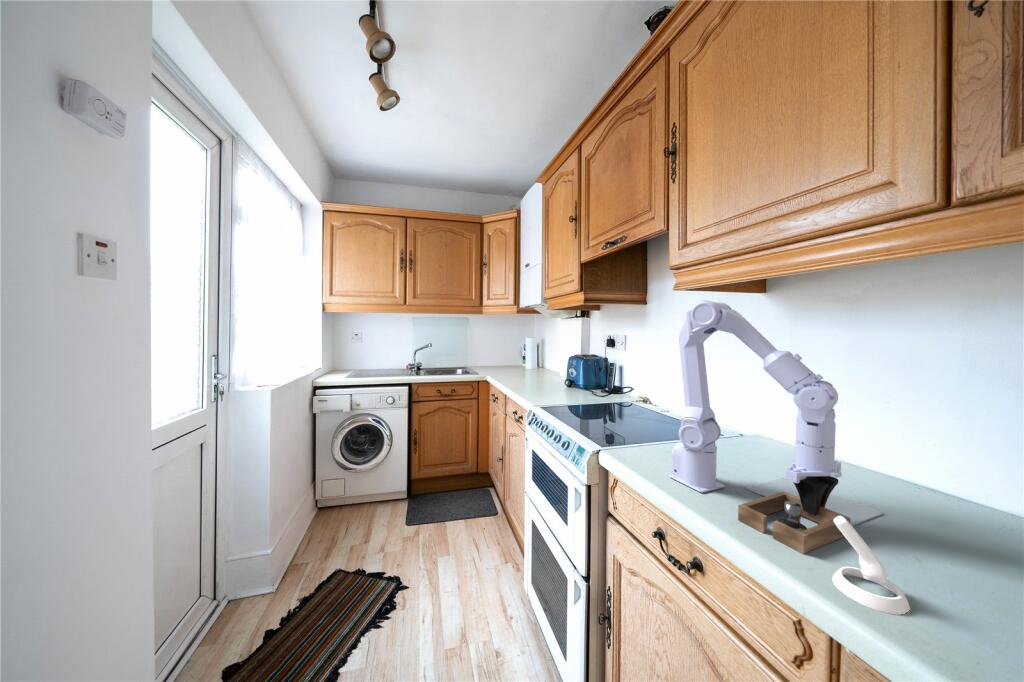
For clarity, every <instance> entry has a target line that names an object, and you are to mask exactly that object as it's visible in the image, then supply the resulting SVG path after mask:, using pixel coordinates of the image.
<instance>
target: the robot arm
mask: <svg viewBox="0 0 1024 682" xmlns="http://www.w3.org/2000/svg"><path fill="white" fill-rule="evenodd" d="M685 316H686V318H685V320H684V322H683V325H682V327H681V328H680V329H681V330H680V332H679V334H678V343H679V355H680V363H681V364H680V365H681V374H682V384H683V395H684V405H685V408H684V410H683V413H682V415H681V418H680V420H681V423H680V428H679V429H678V438H679V441H678V442H676V443H675V444H674V446H673V448H672V451H671V474H669V475H668V476H669V478H671V479H672V480H675V481H677V482H678V483H681V484H683V485H685V486H687V487H688V488H691V489H692V490H695V491H697V492H699V493H706V492H711V491H715V490H719V489H723V488H725V487H726V486H725V484H723V483H721V482H719V481H717V460H718V459H717V454H718V452H717V449H718V448H717V445H716V442H717V441H718V440H719V439H720V437H721V435H722V433H721V432H722V431H721V426H720V425H719V423H718V422H717V420H716V414H715V411H714V410H713V409H712V408H711V404H710V403H711V401H710V394H709V386H708V385H709V383H708V375H707V365H706V356H705V345H704V343H705V342H706V341H707V340H708V339H709V338H710V337H711V336H712V335H713V334H714V333H715V332H718V331H721V332H725V333H727V334H728V333H729V334H733V335H734V336H735V338H737V339H738V340H739V341H741V342H742V343H743V344H745V346H747V347H748V348H749V349H750V350H751V351H752V352H754V353H755V354H756V355H757V356H758V357H759V358H760V359H762V361H763V366H762V367H763V371H765V372H766V373H767V374H768V375H769V376H770V377H771V378H773V380H775V381H776V382H777V383H778V384H779V386H781V387H782V388H783V389H784V391H786V392H787V393H788V394H792V395H793V397H792V398H793V402H794V404H795V406H796V407H797V417H796V419H795V420H796V422H795V423H796V425H795V455H794V456H795V457H794V458H795V460H794V461H793V462H792V464H791V465H790V466H789V467H788V468H785V473H784V478H785V479H786V480H789V481H792V482H793V483H794V485H795V487H796V489H797V491H798V494H799V497H800V500H801V504H802V508H803V511H805V512H808V513H810V514H812V515H815V516H816V515H817V514H818V512H819V509H820V506H822V507H824V508H825V505H826V502H827V499H828V497H829V495H830V493H831V494H832V492H833V490H834V489H835V488H836V486H837V485H838V484H839V479H838V478H841V477H843V474H842V462H841V461H838V460H835V455H836V454H835V453H836V449H835V447H836V431H837V430H836V427H837V425H836V421H835V418H836V412H835V406H836V404H838V401H839V394H838V391H837V389H836V388H835V387H834V385H833V384H832V383H831V382H829V381H826V380H822V379H824V376H822V375H821V374H820V373H818V374H815V373H814V371H812V370H811V368H809V367H808V366H806V365H805V364H804V362H803V361H801V360H802V359H803V357H802V356H801V355H799V353H794V354H793V353H792V352H791V351H789V350H779V349H777V348H776V347H775V346H774V345H773V344H772V342H770V341H769V340H768V339H767V338H766V337H765V336H764V335H763V334H762V333H761V332H759V331H758V329H757V328H755V327H754V326H753V325H752V323H750V322H749V321H748V319H746V318H745V317H744V316H743V315H742V314H740V312H738V311H737V310H735V309H732V307H731V306H730V305H729V304H727V303H725V302H722V301H721V302H719V301H718V302H716V301H712V300H706V299H705V300H704V299H703V300H700V301H698V302H696V303H695V304H694V305H692V306H691V307H690V308H689V309H688V310H687V311H686V315H685Z"/></svg>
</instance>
